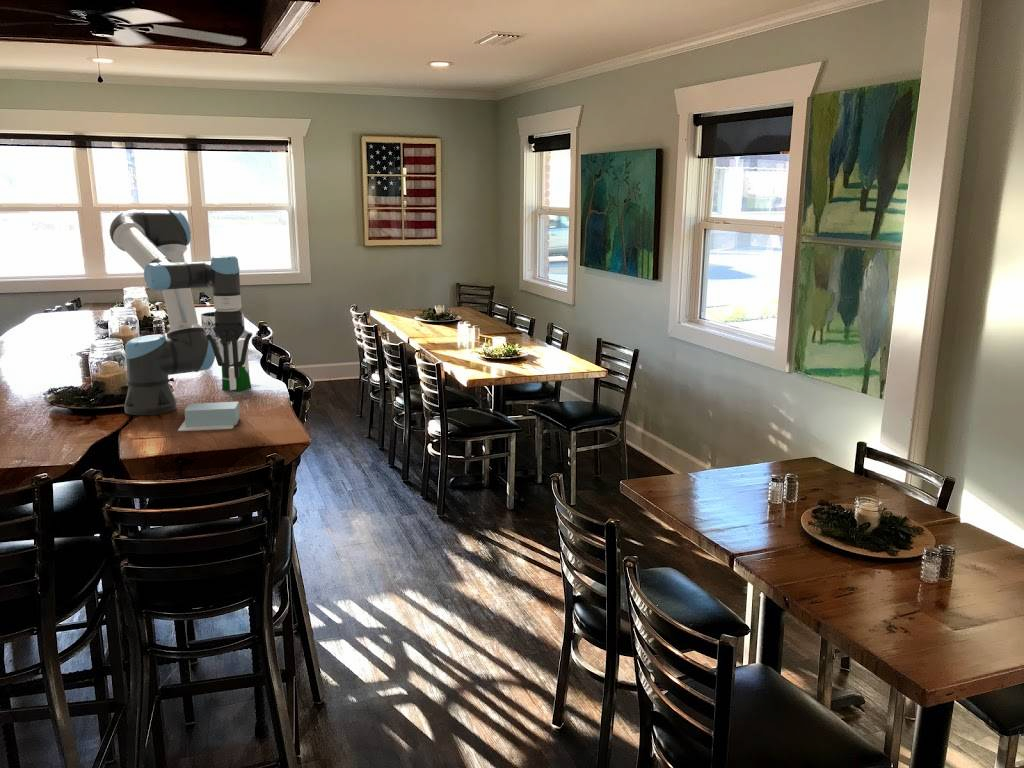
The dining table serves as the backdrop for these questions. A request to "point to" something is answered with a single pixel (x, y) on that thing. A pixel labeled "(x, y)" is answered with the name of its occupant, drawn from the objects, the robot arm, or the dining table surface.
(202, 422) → the slab
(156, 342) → the robot arm
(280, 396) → the dining table surface
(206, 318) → the planter
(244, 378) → the milk carton
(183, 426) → the mat
